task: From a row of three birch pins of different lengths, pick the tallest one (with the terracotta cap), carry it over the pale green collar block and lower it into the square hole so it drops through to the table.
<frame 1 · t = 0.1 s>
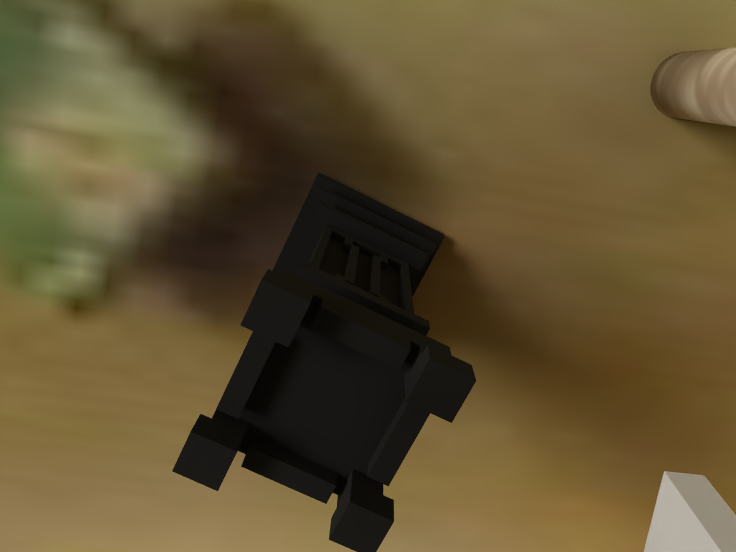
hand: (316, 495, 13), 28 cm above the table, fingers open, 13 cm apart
pin medium: (683, 85, 38), on the table
chess piece: (351, 262, 41), on the table
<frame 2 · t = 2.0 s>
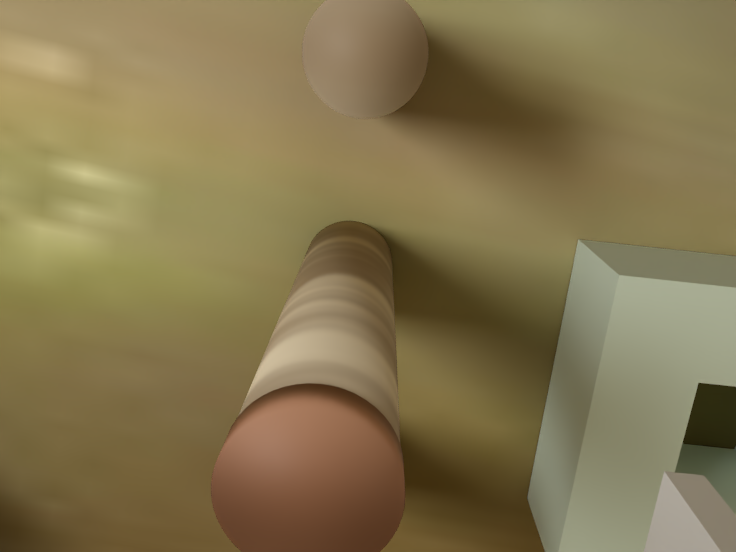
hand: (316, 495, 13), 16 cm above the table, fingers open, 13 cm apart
pin short: (369, 57, 26), on the table
collar block: (691, 391, 29), on the table
pin long: (349, 263, 28), on the table
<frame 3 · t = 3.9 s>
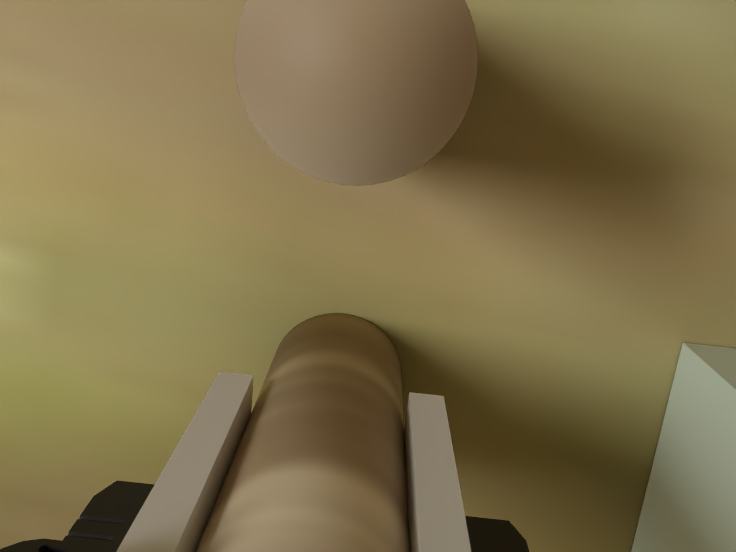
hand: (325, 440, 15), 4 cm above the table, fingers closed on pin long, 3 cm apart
pin short: (368, 69, 17), on the table
pin long: (336, 374, 19), on the table, touching gripper
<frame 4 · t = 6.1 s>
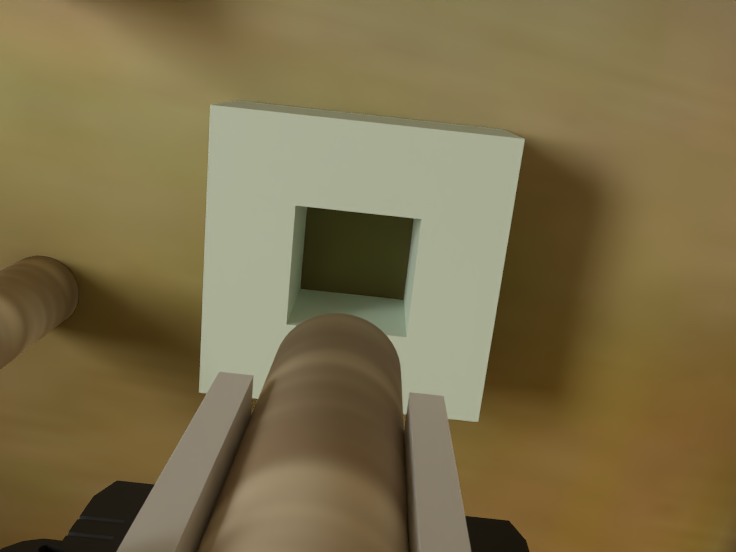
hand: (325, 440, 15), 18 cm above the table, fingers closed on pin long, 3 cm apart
pin medium: (43, 290, 34), on the table
collar block: (357, 244, 33), on the table
pin long: (337, 373, 19), point 14 cm above the table, touching gripper
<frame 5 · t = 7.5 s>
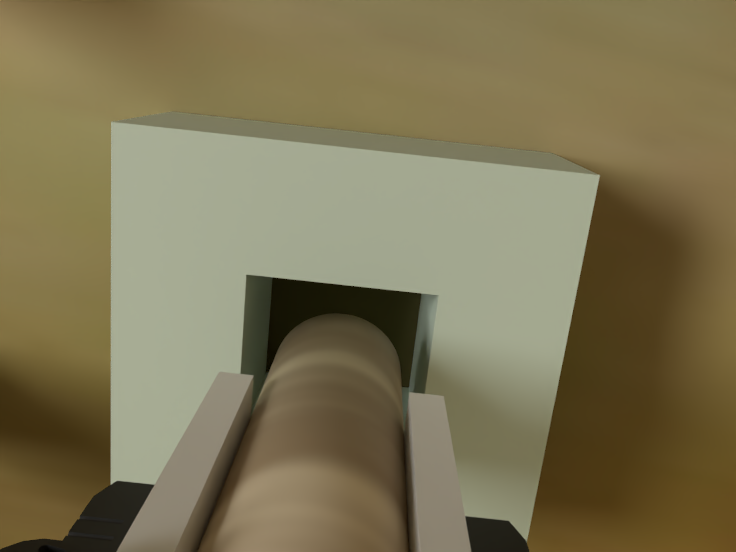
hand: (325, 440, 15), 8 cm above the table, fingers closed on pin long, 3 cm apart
collar block: (344, 312, 23), on the table
pin long: (337, 373, 19), point 5 cm above the table, touching gripper
when the fingers open (7 cm above the table, at t = 8.4 s): pin long drops 2 cm, resting in collar block.
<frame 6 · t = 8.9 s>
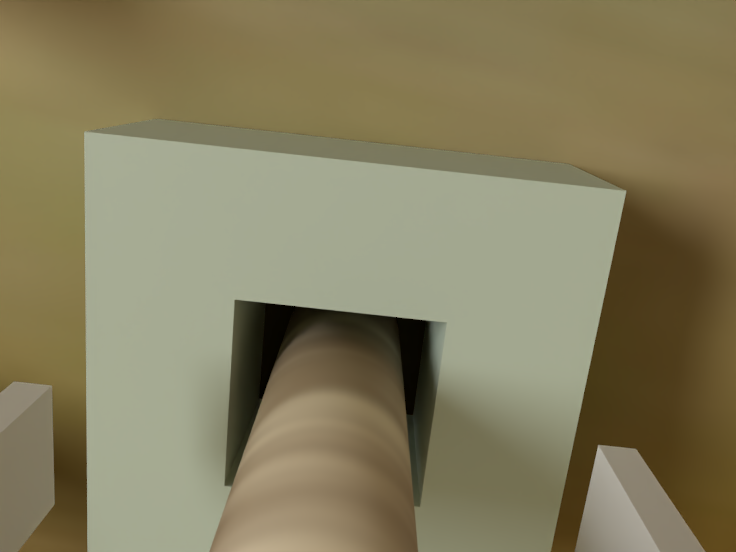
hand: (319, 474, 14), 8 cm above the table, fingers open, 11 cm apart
collar block: (343, 334, 22), on the table
pin long: (343, 336, 22), resting in collar block
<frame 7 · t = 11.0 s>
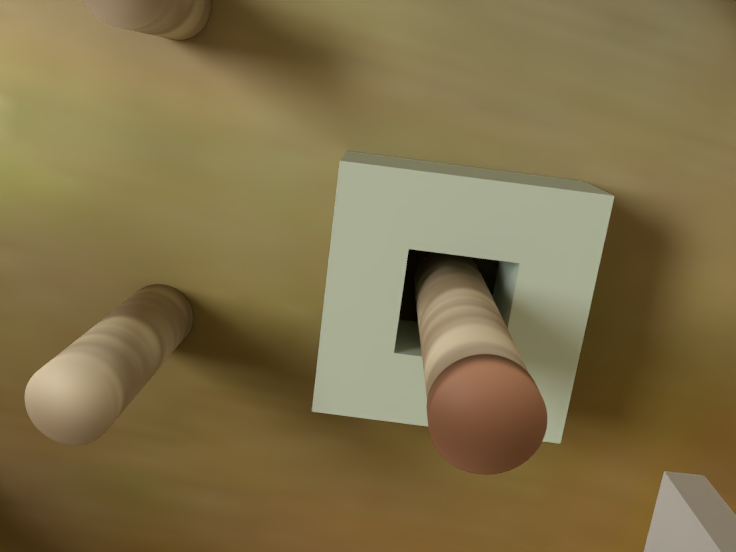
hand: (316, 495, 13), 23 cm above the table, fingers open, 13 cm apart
pin medium: (160, 315, 38), on the table
pin short: (175, 1, 33), on the table
collar block: (447, 280, 36), on the table
pin long: (447, 280, 36), resting in collar block
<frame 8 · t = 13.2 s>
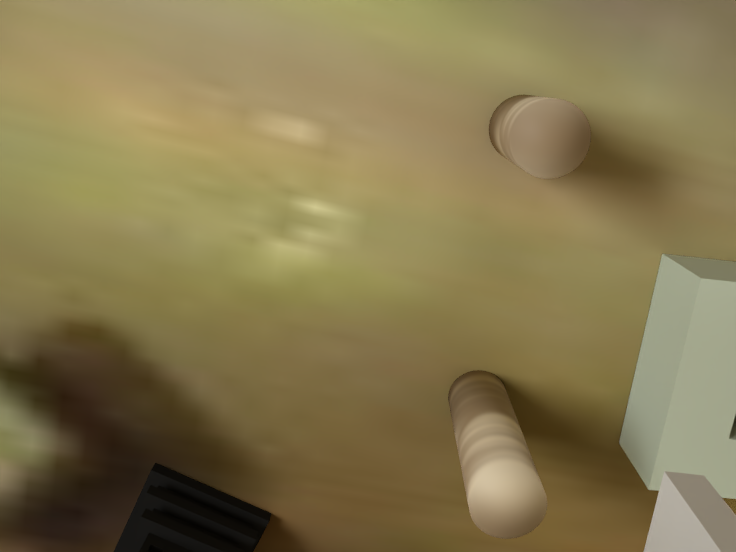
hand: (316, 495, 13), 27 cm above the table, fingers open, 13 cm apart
pin medium: (477, 397, 42), on the table
chess piece: (191, 534, 45), on the table
pin short: (521, 128, 37), on the table
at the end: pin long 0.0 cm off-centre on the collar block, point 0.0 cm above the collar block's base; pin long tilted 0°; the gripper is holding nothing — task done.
